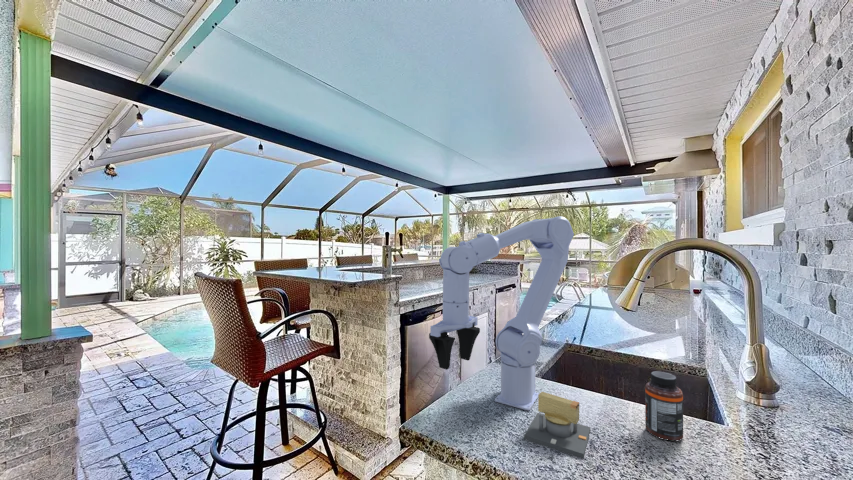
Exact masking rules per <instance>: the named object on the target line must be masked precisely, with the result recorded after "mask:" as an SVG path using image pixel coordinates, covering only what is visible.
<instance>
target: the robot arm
mask: <svg viewBox="0 0 853 480" xmlns="http://www.w3.org/2000/svg"><path fill="white" fill-rule="evenodd" d="M574 236H575V233H574V231H573V227H572V225H571V223H570V221H569V219H568V218H566V217H564V216H561V215H560V216H555V217H549V218H541V219H539V218H536V219H533V220H529V221H524V222H521V223H520V224H517V225H515V226H513V227H511V228H508V229H506V230H505V231H503V232H499V233H498V234H496V235H493V234H491V233H484V232H480V233H477V234H476V237H474V238H473V239H470V240H467V241H465V240H461V241H460V242H458V246H449V247H447V248H445V249H444V250H443V252H441V254H440V255H441V256H440V258H438V262H439V265H440V267H441V269H442V270H443V271H442V272H443V273H442V275H443V276H442V277H443V278H442V320H440V321H439V322H437V323H435V324H433V325H430V332H429V333H428V334H429V335H428V339H429V340H430V342H431V344H432V346H433V348H434V351H435V353H436V357H437V362H438V368H440V369H444V370H446V371H447V370H449V369H450V365H451V355H452V349H453V345H454V342H455V340H456V338H455V337H453V336H450V335H449V334H448V333H452V332H455V331H456V334H457V337H458V345H459V358H460V359H461V360H463V361H464V360H465V361H470V359H471V356H472V352H473V348H474V345H475V342H476V339H477V337H478V336H479V334H480V333H481V328H480V327H478V316H474V315H470V314H469V313H470V311H469V310H470V309H469V308H470V305H469V304H470V272H471V271H472V270H473V268H474V267H476V266H478V265H480V264H482V263H484V262H487V261H489V260H491V259H494V258H496V257H498V255H499V254H500V252H501V249H503V248H504V249H505V248H506V247H509V246H512V245H514V244H518V243H520V242H523V241H528V240H529V242H530V243H531V244H532V246H533V247H534V248H535V249H536V251H537V253H538V254H539V255H540V258H541V261H540V264H539V266H538V267H537V270H536V272H535V274H534V276H533V279H532V281H531V282H530V283H531V284H530V285H529V288H528V289H527V291H526V294H525V296H524V298H523V301H522V303H521V305H520V307H519V310H518V311H517V314H516V316H515V317H513V318H511V319H510V320H507V321H506V323H505V326H504V327H503V328H502V329H501V330H500V331H499V332H498V333H497V334H496V337H495V346H496V350H498V352H500V353H499V354H500V392H499V394H498V395H496V397H495V398H494V402H495V403H499V404H503V405H505V406H510V407H514V408H518V409H520V410H524V411H530V410H531V409H532V408H533V406H534V405H535V403H536V401H537V400H538V394H540V392H536V366H535V363H536V362H537V361H538V359H539V357H540V354H541V343H542V342H543V340H544V338H543V334H542V333H541V331H540V329H539V326H540V325H541V322H542V320H543V319H544V315H545V313H546V310H547V308H548V306H549V304H550V302H551V300H552V297H553V296H554V292H555V290H556V288H557V287H558V284H559V282H560V279H561V276H562V274H563V272H564V270H565V268H566V265H567V263H568V260H569V251H570V250H569V249H570V245H571V243H572V241H573V238H574ZM536 399H537V400H536ZM534 402H535V403H534Z"/></svg>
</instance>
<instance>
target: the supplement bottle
mask: <svg viewBox="0 0 853 480" xmlns="http://www.w3.org/2000/svg"><path fill="white" fill-rule="evenodd" d="M650 379H651V380H650V381H648V382H647V383H645V387H644V390H645V391H644V392H645V393H644V394H645V395H644V396H645V397H644V398H645V399H644V401H645V402H644V403H645V404H644V405H645V406H644V407H645V410H644V411H645V413H644V416H645V419H644V421H645V429H646V430H647V432H648V431H649V432H650V434H651V433H652V434H653V436H654V435H655V436H654V437H656V436H657V437H656V438H658V437H660V438H663V439H662V440H664V439H668V440H679V441H681V440H682V439H683V438H684V394H683V391H682V389H681V388H679V387H678V386H677V376H676V375H674V374H671V373H669V372H664V371H659V370H656V371H652V372H651V373H650ZM649 432H648V433H649ZM652 434H651V435H652ZM660 438H659V439H660ZM680 439H681V440H680Z"/></svg>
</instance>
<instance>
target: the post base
mask: <svg viewBox="0 0 853 480" xmlns="http://www.w3.org/2000/svg"><path fill="white" fill-rule="evenodd" d="M578 422H579V421H578ZM578 422H577V424H574V423H571V424H570V425H566V426H561V425H556V424H553V423H551V422H549V421H547V420H546V418H545V413H541V412H537V413H536V415H535V417H534V419H532V421H531V423H530V424H529V427H528V428H527V430H526V431H525V433H524V436H523V440H524V441H527V442H530V443H534V444H536V445H540V446H543V447H546V448H549V449H552V450H555V451H559V452H562V453H564V454H568V455H570V456H574V457H577V458H580V459H583V460H584V459H585V457H586V456H585V455H586V452H585V451H587V448H586V447H588V443H589V439H590V435H591V426H588V425H584V424H580V423H578ZM589 434H590V435H589Z"/></svg>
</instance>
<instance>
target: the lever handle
mask: <svg viewBox="0 0 853 480" xmlns="http://www.w3.org/2000/svg"><path fill="white" fill-rule="evenodd" d="M537 400H538V402H537V403H538V405H537V407H538V409H537V411H538V413H541V414H544V415H545V418H546V420H547V421H549V422H551V423H553V424H556V425H561V426H566V425H570V424H571V423H574V424H578V423H577V422H579V421H580V402H578V401H576V400H572V399H568V398H566V397H565V398H564V397H562V396H558V395H555V394H551V393H548V392H545V391H541V392H539V394H538V398H537Z"/></svg>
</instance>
